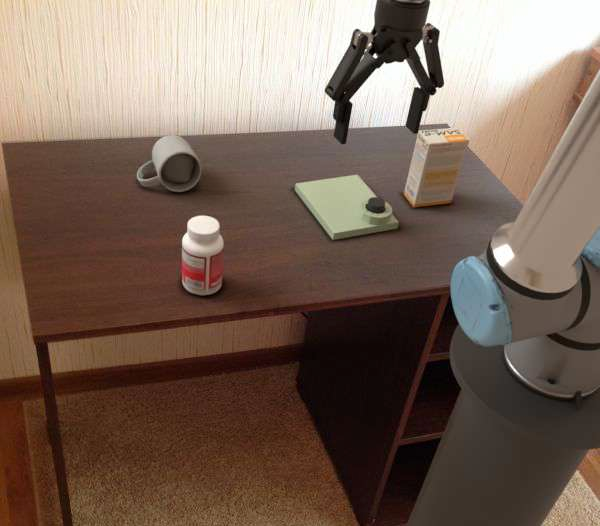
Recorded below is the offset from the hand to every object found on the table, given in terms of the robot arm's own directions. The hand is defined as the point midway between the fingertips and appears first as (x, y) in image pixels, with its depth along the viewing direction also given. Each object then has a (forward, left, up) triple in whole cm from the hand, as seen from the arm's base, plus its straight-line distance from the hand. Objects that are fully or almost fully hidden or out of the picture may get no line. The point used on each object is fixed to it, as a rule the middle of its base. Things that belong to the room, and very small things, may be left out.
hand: (376, 134), depth 121 cm
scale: (+5, 0, -17) cm, 18 cm away
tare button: (0, -3, -14) cm, 15 cm away
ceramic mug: (+21, +28, -17) cm, 39 cm away
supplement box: (+4, -17, -17) cm, 24 cm away
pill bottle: (-8, +32, -17) cm, 37 cm away
